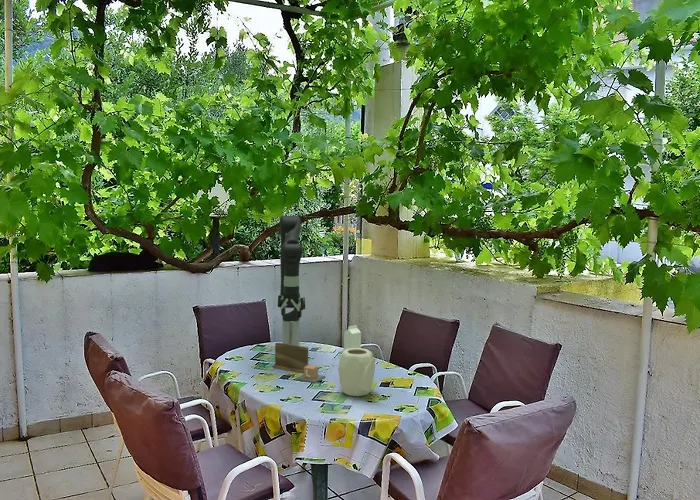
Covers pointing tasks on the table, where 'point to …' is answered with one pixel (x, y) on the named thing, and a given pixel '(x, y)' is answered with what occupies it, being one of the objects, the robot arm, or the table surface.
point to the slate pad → (310, 379)
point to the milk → (352, 337)
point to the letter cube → (310, 372)
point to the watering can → (356, 371)
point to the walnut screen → (290, 357)
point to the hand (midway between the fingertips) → (291, 317)
